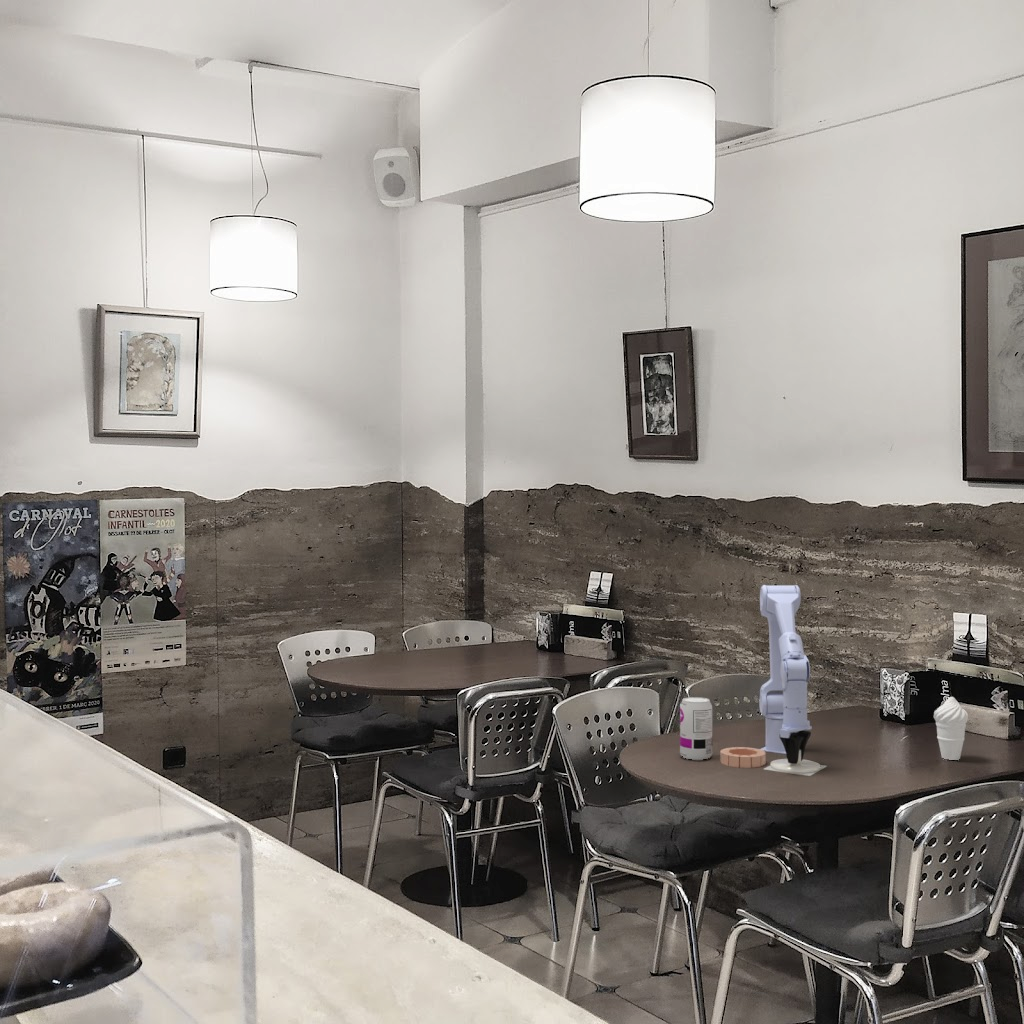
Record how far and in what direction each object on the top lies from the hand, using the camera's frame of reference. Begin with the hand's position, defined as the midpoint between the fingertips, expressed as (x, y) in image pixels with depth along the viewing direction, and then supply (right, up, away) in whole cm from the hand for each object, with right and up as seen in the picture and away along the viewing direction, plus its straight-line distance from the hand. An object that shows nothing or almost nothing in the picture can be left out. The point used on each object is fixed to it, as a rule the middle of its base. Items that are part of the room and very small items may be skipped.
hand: (795, 761), depth 287 cm
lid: (0, -1, 0) cm, 1 cm away
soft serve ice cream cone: (+42, -2, +10) cm, 43 cm away
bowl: (-12, -2, +6) cm, 13 cm away
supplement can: (-22, -2, +13) cm, 26 cm away
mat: (0, -2, 0) cm, 2 cm away
